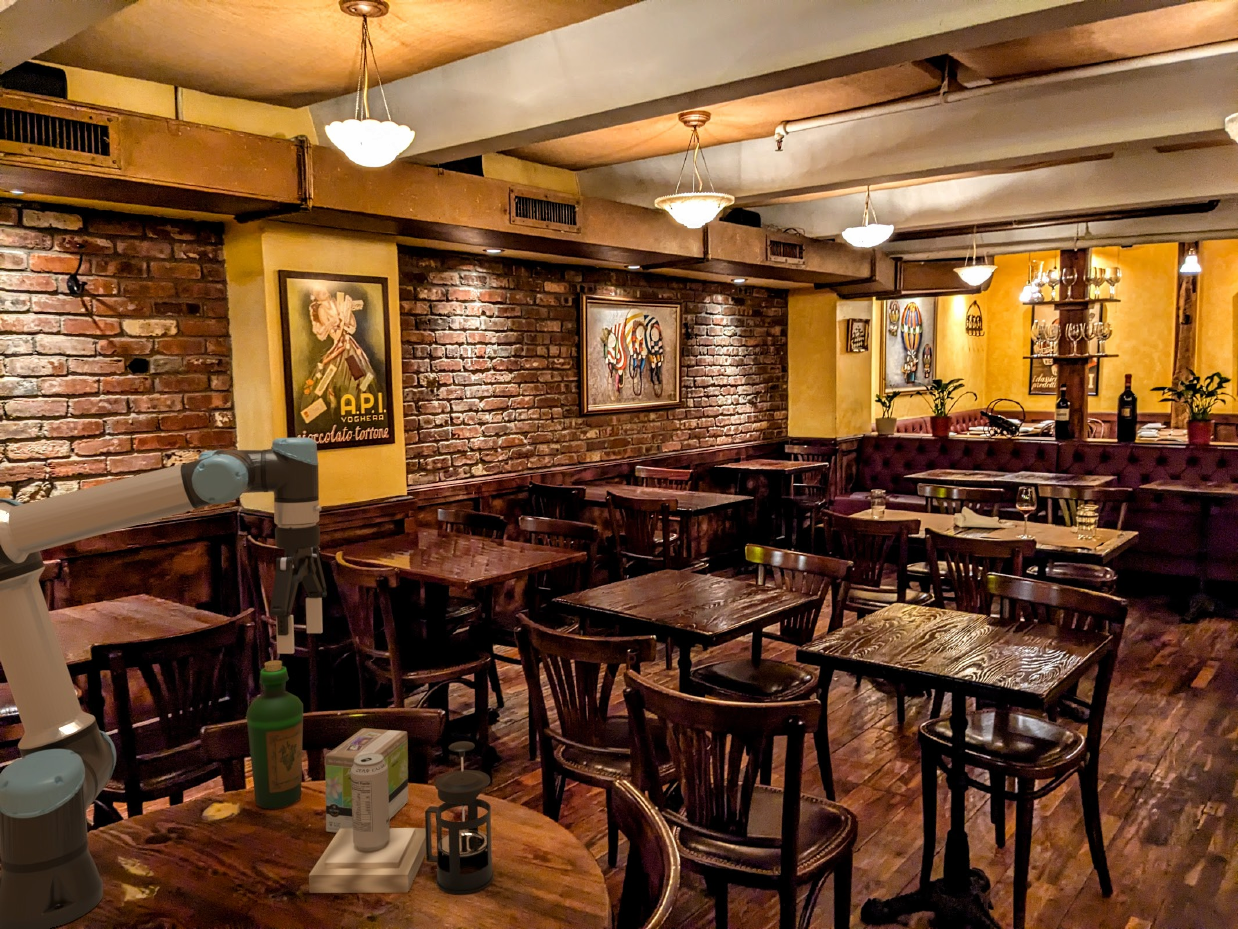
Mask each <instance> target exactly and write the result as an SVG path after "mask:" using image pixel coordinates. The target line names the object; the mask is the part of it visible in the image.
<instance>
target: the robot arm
mask: <svg viewBox="0 0 1238 929" xmlns="http://www.w3.org/2000/svg"><path fill="white" fill-rule="evenodd" d="M271 443H272V445H271V448H268V449H215V450H205V451H202V452H201V453H200V454H199V455H198V459H197V460H193V461H190V462H186V463H182V464H177V465H172V466H170V467H169V466H168V467H165V468H162V469H157V470H152V471H149V472H145V473H141V474H138V475H134V476H130V477H125V478H121V479H118V480H114V481H110V482H106V483H102V484H98V485H93V486H90V487H87V488H81V489H77V490H74V491H69V492H66V493H61V494H58V495H54V496H51V497H46V498H42V499H39V500H38V499H37V500H35V501H31V502H26V503H23V502H21V501H18V500H15V499H11V498H6V497H5V498H3V497H0V663H1V666H2V669H3V671H4V675H5V677H6V680H7V683H8V686H9V689H10V692H11V695H12V698H13V701H14V704H15V707H16V709H17V712H18V715H19V718H20V721H21V724H22V727H23V730H24V734H23V736H22V737H21V739H20V740H19V742H18V744H17V748H18V749H19V750H18V751H19V752H20V756H21V758H17V759H15V760H14V761H12V762H11V763H9V764H8V765H7V766H6V767H4V769H3V770H2V771H1V773H0V865H1V866H0V868H1V870H0V929H50V928H52V927H55V928H57V927H56V926H58V927H60V925H61V926H63V925H65V924H69V923H72V922H73V921H75V920H77V919H80V918H81V917H83V916H84V915H86V914H88V913H89V912H91V911H92V910H93V909H94V908H96V907H97V905H98V904H99V903H100V902H101V900H102V899H103V897H104V883H103V878H102V876H101V874H100V873H99V870H98V868H97V866H96V863H95V861H94V859H93V857H92V854H91V853H90V850H89V842H88V824H87V821H88V820H87V811H88V809H89V808H90V807H91V805H92V804H93V802H94V801H95V800H96V799H97V797H98V796H99V794H100V793H101V792H102V791H104V789H105V788H106V787H107V785H108V782H110V780H111V778H112V775H113V773H114V770H115V768H116V767H115V766H116V762H117V751H116V747H115V743H114V742H113V741H112V740H113V739H111V737H110V736H109V734H107V733H106V732H105V731H102V730H100V728H99V724H98V723H97V720H96V717H95V716H94V715H93V714H90V713H88V712H85V711H83V710H82V707H81V704H80V700H79V699H78V695H77V692H76V688H75V686H74V683H73V681H72V677H71V674H70V671H69V669H68V666H67V663H66V659H65V657H64V656H65V655H64V653H63V651H62V647H61V644H60V641H59V638H58V635H57V632H56V630H55V629H56V628H55V627H54V623H53V621H52V618H51V615H50V612H49V608H48V605H47V603H46V599H45V596H44V593H43V590H42V588H41V584H40V581H39V580H40V578H41V575H42V573H44V572H45V571H44V570H45V569H46V566H45V563H44V561H43V560H44V559H43V556H42V554H41V551H43V550H46V549H47V550H48V549H51V548H55V547H59V546H62V545H66V544H70V543H73V542H77V541H81V540H85V539H88V538H93V537H95V536H100V535H103V534H108V533H111V532H114V531H118V530H122V529H126V528H131V527H134V526H138V525H141V524H145V523H149V522H152V521H157V520H159V519H163V518H168V517H171V516H175V515H177V514H182V513H186V512H190V511H192V510H197V509H202V508H206V507H209V506H213V505H223V504H227V503H231V502H233V501H236V500H237V499H238V498H240V497H241V496H242V495H243V494H250V493H253V494H254V493H273V509H274V510H273V515H274V517H273V519H274V521H273V522H274V524H275V525H277V526H276V527H275V528H274V536H275V537H274V538H275V539H274V540H275V547H276V548H278V549H281V550H284V557H276V560H275V575H274V582H273V586H272V588H273V589H272V595H271V599H270V600H271V602H270V607H269V616H270V617H275V623H276V624H275V625H276V626H275V627H276V652H277V654H294V653H295V632H294V630H295V628H294V626H295V625H294V615H293V614H292V610H293V606H294V602H295V598H296V595H297V591H298V588H299V587H298V586H299V583H302V585H303V587H304V590H305V592H306V594H307V597H306V598H305V614H306V618H305V619H306V622H305V623H306V634H322V633H323V600H322V599H323V598H326V597H327V595H328V592H327V585H326V580H325V576H324V572H323V568H322V562H321V559H320V548H319V546H320V544H321V531H320V530H321V528H320V526H319V524H317V523H318V522H319V521H320V512H321V511H322V506H321V505H320V498H319V492H320V491H319V490H320V489H319V487H320V486H319V485H320V484H319V483H320V482H319V479H320V478H319V460H318V447H317V446H318V445H317V442H316V440H314V439H313V438H310V437H278V438H274V439H273V440H272V442H271ZM52 929H53V928H52Z"/></svg>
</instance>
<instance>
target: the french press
mask: <svg viewBox="0 0 1238 929" xmlns="http://www.w3.org/2000/svg"><path fill="white" fill-rule="evenodd" d="M474 748H475V743H473V742H471V741H464V740H463V741H455V742H454V743H451V744H449V745H448V749H449V750H450V751H451V752H454V753H458V756H459V758H460V768H461V770H454V771H450V772H447V773H445V774H443V775H440V776H439V777H438V778H436V780H435V782H434V787H435V789H436V790H437V798H438V799H439V800H440V801H441V802H443V803H442V804H440V805H439V806H434V805H432V806H431V805H429V806H428V807H427V809H426V810H425V813H424V818H425V819H424V822H425V825H424V826H425V827H424V828H425V829H426V854H425V857H426V858H425V859H426V862H427V863H436V874H437V875H436V879H435V883H436V887H437V888H438V889H439V890H440V891H441V892H443V893H446V894H449V895H453V896H454V895H458V896H459V895H460V896H461V895H465V896H466V895H470V894H475V893H478V892H480V891H481V892H482V891H483V890H485V889H487V888H488V887H490V885H491V884H492V883H493V881H494V877H495V876H494V875H495V874H494V871H493V856H492V810H491V809H492V808H491V804H490V803H489V802H487V801H486V800H483V799H480V798H478V797H479V795H480V794H481V793H482V791H483V790H484V789H485V788H487V787H488V786H489V784H490V783H491V777H490V776H489V775H488V774H487V773H485V772H484V771H480V770H476V769H464V757H465V755H466V752H469V751H472V750H473V749H474ZM449 750H448V751H449ZM458 807H461V809H462V811H461V812H462V813H461V815H462V818H461V819H462V821H452V820H447V819H443V818H442V813H444V812H446V811H448V810H451V809H453V808H458ZM465 807H467V820H466V821H465V814H466V813H465ZM478 808H480V809H481V808H482V809H484V810H486V811H487V812H486V813H485V814H484V815H482V816H480V817H479V811H478V810H479V809H478ZM432 814H435V823H436V852H437V854H436V855H434V854H433V849H432V848H433V847H432ZM485 824H486V833H484V832H482V831H479V827H480V826H481V827H482V826H483V825H485ZM443 828H444V829H447V830H448V834H447V835H445V836H443V832H442V831H443V830H442V829H443ZM463 868H464V869H465V868H473V869H477V870H475V871H473V872H468V873H461V869H463Z"/></svg>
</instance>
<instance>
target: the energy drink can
mask: <svg viewBox="0 0 1238 929" xmlns="http://www.w3.org/2000/svg"><path fill="white" fill-rule="evenodd" d="M351 792H352V820H353V843H354V844H355V845H356V846H357V848H358V849H359V850H361V851H366V852H370V851H376V850H379V849H381V848H383V847H384V846H385V845H386V844H387V841H388V840H389V838H390V828H391V827H390V826H391V825H390V820H389V795H388V766H387V764H386V763H385V761H384V757H383V755H381V754H378V753H368V754H363V755H360V756H358V757H356V758H355V759H354V764H353V766H352V768H351Z"/></svg>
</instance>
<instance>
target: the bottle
mask: <svg viewBox="0 0 1238 929" xmlns="http://www.w3.org/2000/svg"><path fill="white" fill-rule="evenodd" d="M289 679H290V678H289V675H288V671H287V667H286V666H284V665H283V661H282V660H275V659H274V660H269V661H266V662H264V668H262V669H261V671H260V676H259V684H260V685H262V692H263V693H262V694H260V695H259V696H257V697H256V698H255V699H253V700H252V701H251V703H250V705H249V707H248V708H247V711H246V713H245V714H246V715H245V716H246V723H247V724H246V725H247V734H248V742H249V743H248V744H249V752H250V753H249V754H250V762H251V772H252V781H253V793H254V801H255V805H257V806H258V807H260V808H263V809H267V808H268V809H270V810H276V808H277V809H283V808H286V807H289V806H292V805H294V804H295V803H296V802H298V801H300V800H301V797H302V779H303V778H302V777H303V776H302V772H303V771H302V770H303V769H302V768H303V764H302V763H303V730H304V728H303V727H304V726H303V725H304V703H303V702H302V701H301V699H300V697H298V696H296V695H294V694H293V693H291V692H288V691H287V690H286V685H287V684H286V682H288V681H289Z"/></svg>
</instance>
